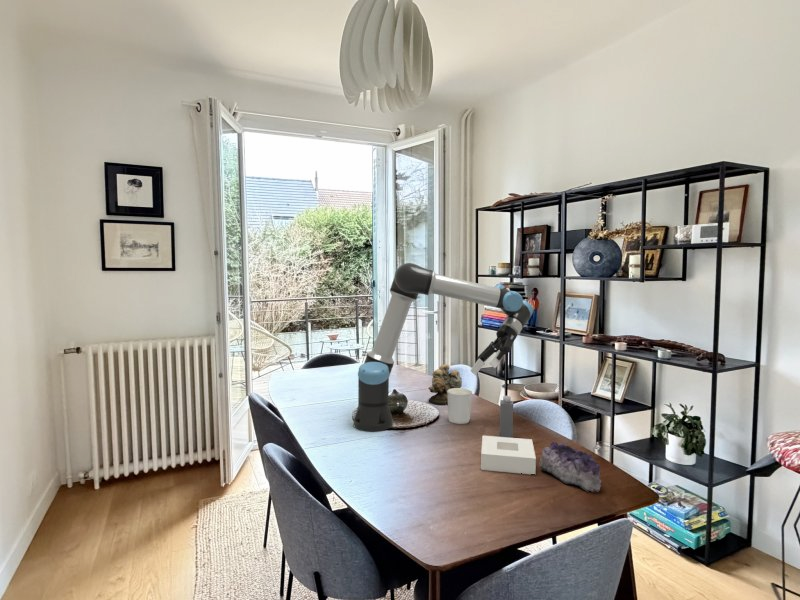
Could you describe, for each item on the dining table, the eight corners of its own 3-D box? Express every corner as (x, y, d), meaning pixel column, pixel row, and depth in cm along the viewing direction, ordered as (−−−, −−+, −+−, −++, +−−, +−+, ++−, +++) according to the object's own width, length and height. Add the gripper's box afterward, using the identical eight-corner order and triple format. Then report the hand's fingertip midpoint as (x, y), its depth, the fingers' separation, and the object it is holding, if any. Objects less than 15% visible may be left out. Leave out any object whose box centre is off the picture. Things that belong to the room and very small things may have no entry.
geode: (615, 487, 135) (615, 455, 133) (587, 502, 130) (586, 468, 128) (560, 459, 153) (559, 429, 151) (533, 470, 148) (532, 440, 146)
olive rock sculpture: (435, 407, 209) (436, 368, 208) (422, 400, 219) (422, 363, 218) (469, 402, 217) (470, 365, 216) (454, 396, 228) (455, 360, 226)
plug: (499, 439, 171) (500, 398, 170) (499, 434, 176) (500, 394, 175) (512, 440, 171) (513, 398, 169) (511, 435, 175) (513, 395, 174)
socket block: (480, 469, 145) (481, 453, 145) (482, 449, 161) (482, 435, 161) (535, 474, 142) (535, 458, 142) (531, 454, 158) (531, 439, 158)
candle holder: (470, 425, 186) (471, 395, 185) (445, 423, 188) (445, 393, 187) (472, 417, 195) (472, 388, 194) (447, 415, 197) (448, 387, 196)
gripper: (535, 329, 181) (508, 369, 170) (498, 345, 202) (472, 381, 192) (521, 315, 180) (493, 355, 170) (485, 332, 202) (459, 368, 191)
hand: (482, 369), depth 181 cm, fingers open, 13 cm apart
